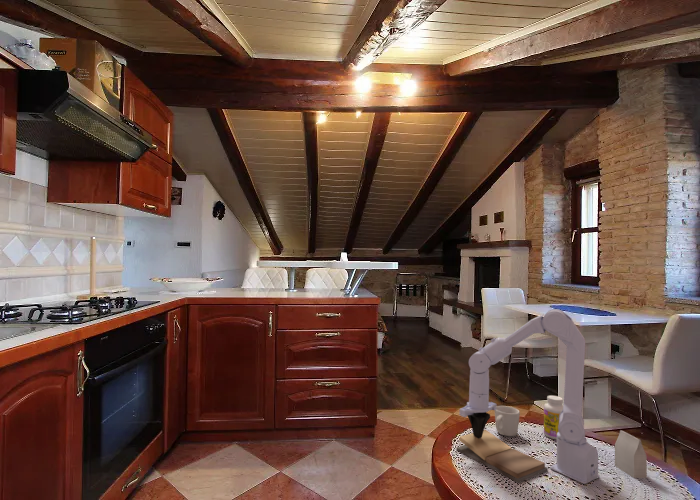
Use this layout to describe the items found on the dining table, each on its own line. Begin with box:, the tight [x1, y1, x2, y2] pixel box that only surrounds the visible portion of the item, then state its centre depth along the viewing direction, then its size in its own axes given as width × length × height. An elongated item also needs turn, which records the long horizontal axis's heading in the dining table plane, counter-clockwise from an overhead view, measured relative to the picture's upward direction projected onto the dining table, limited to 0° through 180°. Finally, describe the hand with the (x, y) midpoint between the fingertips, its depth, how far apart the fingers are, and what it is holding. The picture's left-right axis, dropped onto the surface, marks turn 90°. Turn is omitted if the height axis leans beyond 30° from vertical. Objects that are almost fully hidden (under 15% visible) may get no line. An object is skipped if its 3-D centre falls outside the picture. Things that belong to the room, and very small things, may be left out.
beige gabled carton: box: [614, 429, 648, 479], centre depth 109 cm, size 4×7×10 cm, turn 5°
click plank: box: [459, 428, 513, 460], centre depth 118 cm, size 10×12×1 cm
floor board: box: [455, 444, 549, 484], centre depth 114 cm, size 21×13×2 cm, turn 32°
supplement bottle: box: [543, 395, 564, 441], centre depth 132 cm, size 7×7×13 cm
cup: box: [494, 405, 521, 437], centre depth 132 cm, size 11×8×8 cm
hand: (477, 436), depth 120 cm, fingers closed, pressing on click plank
